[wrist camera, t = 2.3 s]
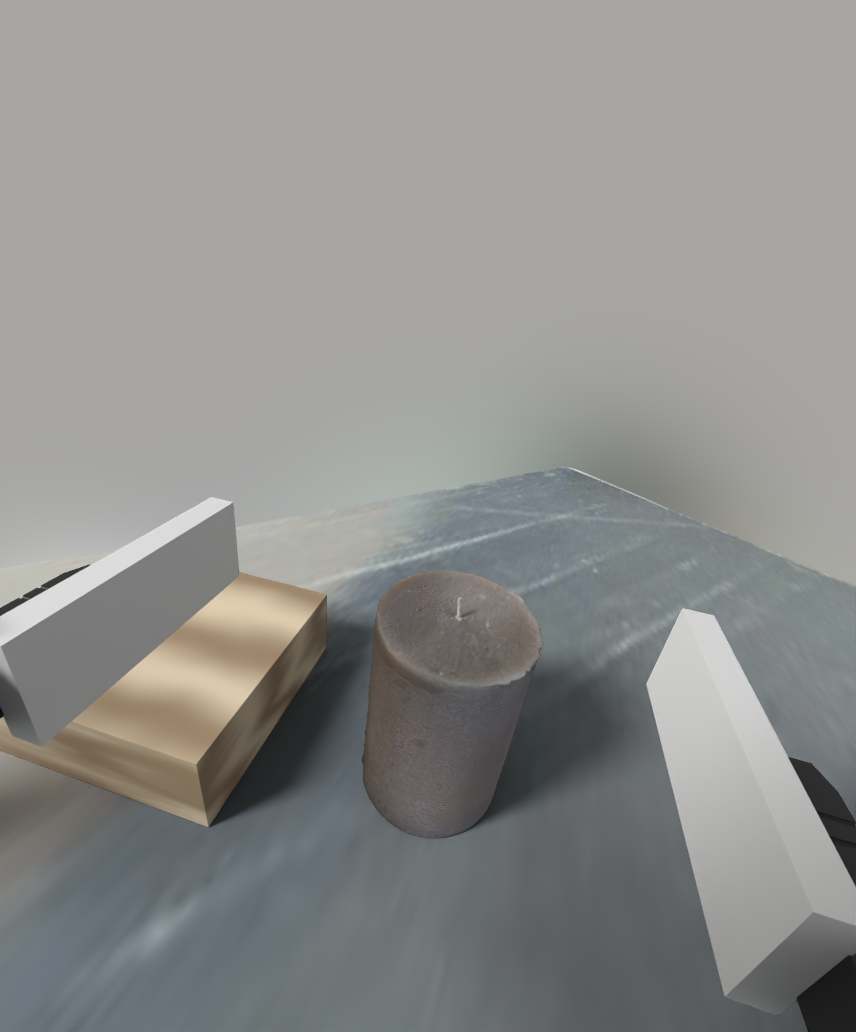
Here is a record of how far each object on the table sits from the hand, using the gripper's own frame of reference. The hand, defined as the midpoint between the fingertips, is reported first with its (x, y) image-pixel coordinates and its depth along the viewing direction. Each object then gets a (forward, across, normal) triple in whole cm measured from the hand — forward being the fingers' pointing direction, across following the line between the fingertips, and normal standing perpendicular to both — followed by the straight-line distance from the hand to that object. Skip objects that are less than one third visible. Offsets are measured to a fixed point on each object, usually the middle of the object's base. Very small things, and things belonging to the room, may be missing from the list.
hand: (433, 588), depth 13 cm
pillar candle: (+10, 0, -23) cm, 25 cm away
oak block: (+10, -20, -22) cm, 31 cm away
